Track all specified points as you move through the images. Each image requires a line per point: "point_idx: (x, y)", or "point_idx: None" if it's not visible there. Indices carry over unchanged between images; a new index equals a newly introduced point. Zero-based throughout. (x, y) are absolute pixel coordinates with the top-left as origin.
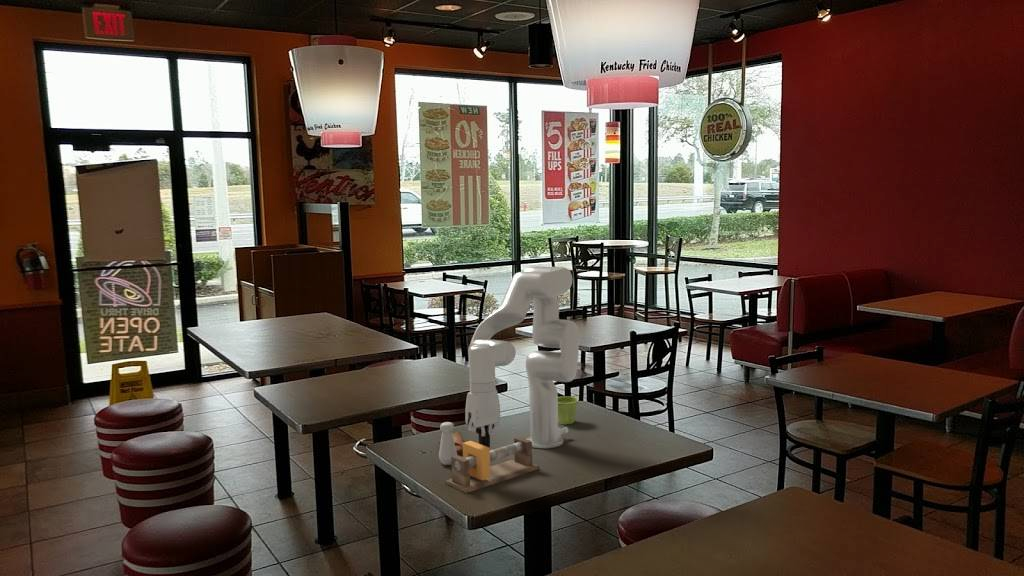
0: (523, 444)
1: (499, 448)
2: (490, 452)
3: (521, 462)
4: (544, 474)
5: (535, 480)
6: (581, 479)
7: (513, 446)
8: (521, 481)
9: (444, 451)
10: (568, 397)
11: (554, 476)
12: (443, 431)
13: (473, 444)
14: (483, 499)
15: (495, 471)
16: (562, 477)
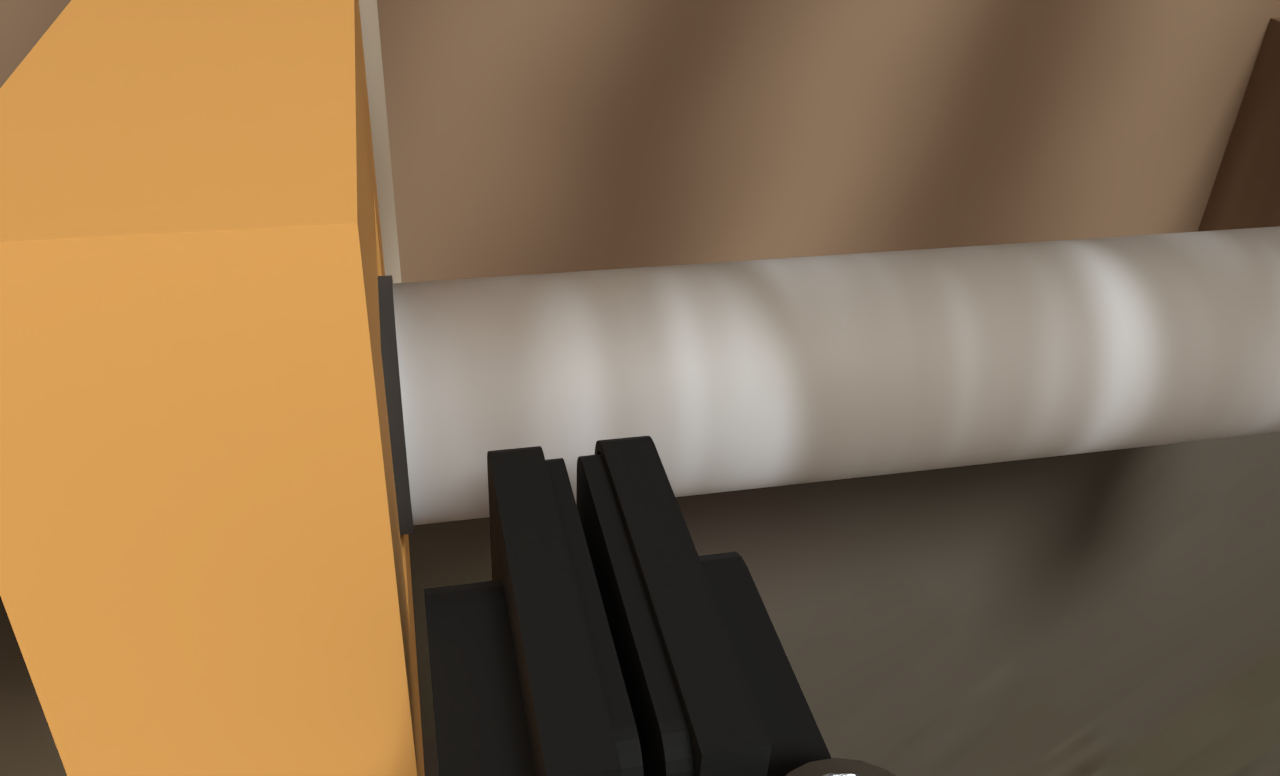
0: None
1: (977, 431)
2: (673, 488)
3: (1231, 195)
4: (1096, 522)
5: (890, 599)
6: (1149, 769)
7: (1270, 428)
8: (767, 544)
9: None
10: None
11: (1097, 613)
12: None
13: (208, 611)
14: (27, 730)
15: (732, 173)
16: (1112, 667)
